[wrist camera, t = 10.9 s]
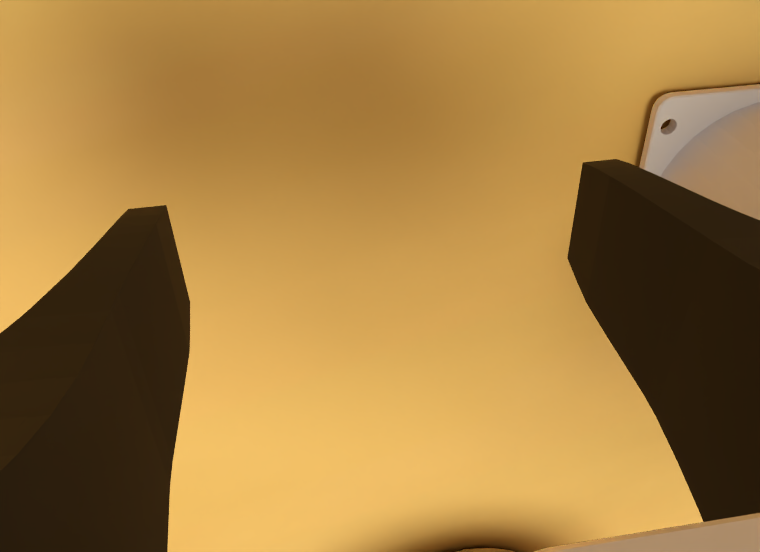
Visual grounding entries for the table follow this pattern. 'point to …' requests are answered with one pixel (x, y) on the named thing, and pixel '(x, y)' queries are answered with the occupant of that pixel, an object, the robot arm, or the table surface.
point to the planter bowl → (485, 550)
